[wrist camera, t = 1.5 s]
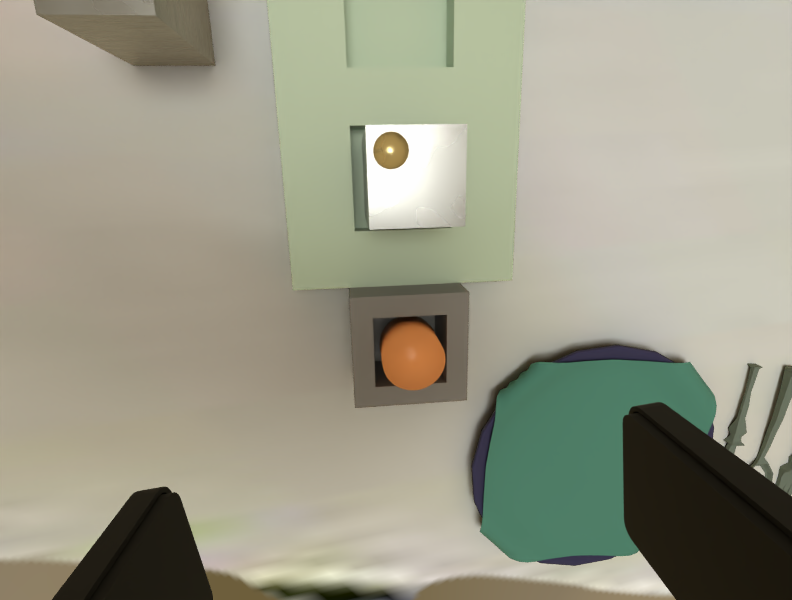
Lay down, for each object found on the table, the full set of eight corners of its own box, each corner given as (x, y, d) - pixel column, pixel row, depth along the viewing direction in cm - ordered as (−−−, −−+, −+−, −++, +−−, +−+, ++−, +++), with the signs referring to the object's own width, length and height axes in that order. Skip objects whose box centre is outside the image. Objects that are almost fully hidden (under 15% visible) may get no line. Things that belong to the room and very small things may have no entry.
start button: (435, 367, 28) (445, 388, 25) (380, 370, 28) (383, 392, 25) (435, 314, 27) (445, 329, 24) (378, 316, 27) (381, 333, 24)
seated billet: (434, 214, 28) (466, 226, 21) (364, 216, 28) (369, 230, 20) (434, 140, 27) (468, 123, 19) (361, 141, 27) (365, 124, 19)
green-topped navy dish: (478, 335, 32) (487, 347, 30) (833, 338, 35) (865, 349, 33) (454, 553, 37) (461, 577, 35) (765, 536, 41) (789, 557, 39)
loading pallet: (495, 364, 32) (520, 396, 27) (305, 376, 31) (297, 411, 26) (514, -106, 25) (553, -176, 20) (263, -115, 23) (240, -192, 19)
